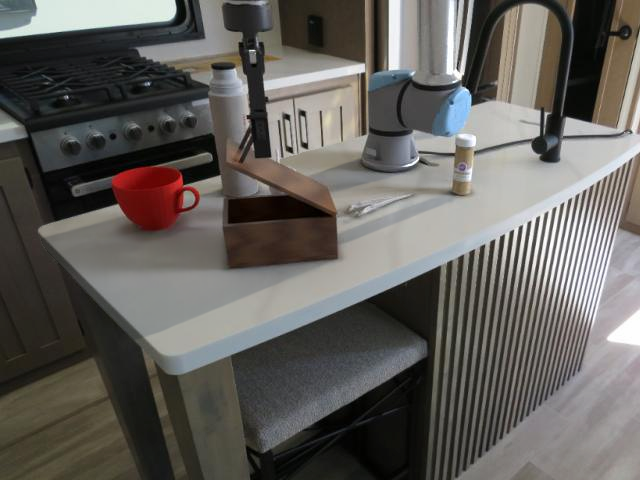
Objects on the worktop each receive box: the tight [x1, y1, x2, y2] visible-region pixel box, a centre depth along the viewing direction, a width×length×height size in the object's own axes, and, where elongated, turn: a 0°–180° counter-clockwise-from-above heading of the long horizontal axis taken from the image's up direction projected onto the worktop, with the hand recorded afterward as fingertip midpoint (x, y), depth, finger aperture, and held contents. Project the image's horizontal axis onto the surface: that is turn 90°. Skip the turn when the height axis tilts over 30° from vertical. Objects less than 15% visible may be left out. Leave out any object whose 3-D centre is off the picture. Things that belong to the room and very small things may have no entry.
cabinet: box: [221, 194, 339, 269], centre depth 106 cm, size 20×13×8 cm, turn 104°
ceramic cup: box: [110, 166, 201, 232], centre depth 113 cm, size 13×17×10 cm
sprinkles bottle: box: [451, 133, 477, 196], centre depth 131 cm, size 5×5×13 cm
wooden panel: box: [225, 119, 338, 218], centre depth 100 cm, size 21×13×8 cm
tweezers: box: [346, 193, 412, 218], centre depth 127 cm, size 18×5×2 cm, turn 132°
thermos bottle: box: [207, 61, 259, 197], centre depth 124 cm, size 8×8×28 cm
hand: (262, 148), depth 98 cm, fingers closed on wooden panel, 8 cm apart
